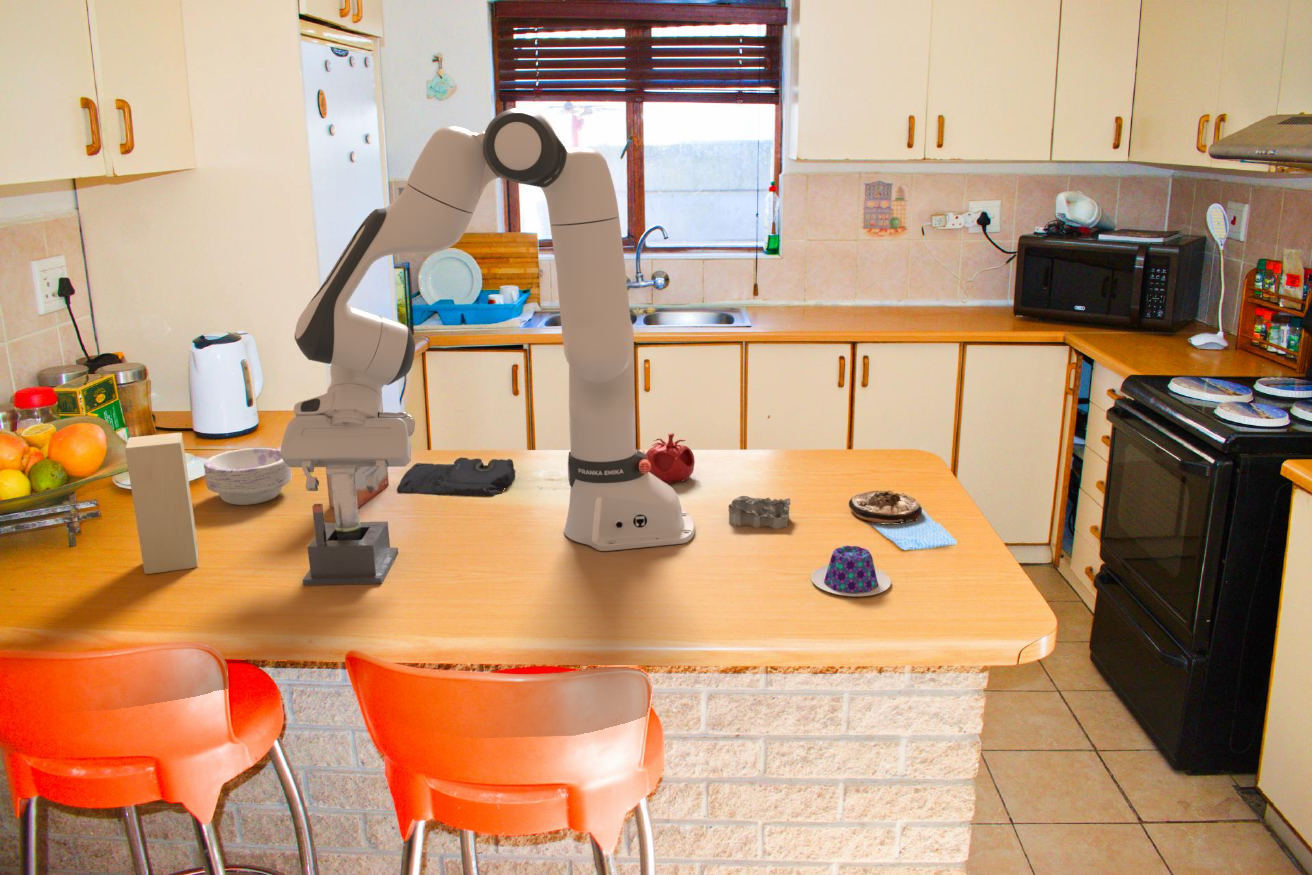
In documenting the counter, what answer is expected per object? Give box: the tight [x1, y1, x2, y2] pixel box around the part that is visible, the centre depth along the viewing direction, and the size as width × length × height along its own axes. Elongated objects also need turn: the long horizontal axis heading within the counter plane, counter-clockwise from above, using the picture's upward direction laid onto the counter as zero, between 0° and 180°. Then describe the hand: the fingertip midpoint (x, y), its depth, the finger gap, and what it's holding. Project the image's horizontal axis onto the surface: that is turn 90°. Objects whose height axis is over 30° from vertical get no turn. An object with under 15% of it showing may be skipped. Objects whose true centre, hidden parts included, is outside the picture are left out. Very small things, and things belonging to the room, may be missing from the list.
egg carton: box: [728, 495, 791, 530], centre depth 184 cm, size 11×8×4 cm
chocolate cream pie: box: [848, 490, 923, 524], centre depth 187 cm, size 15×15×4 cm
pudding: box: [810, 545, 892, 597], centre depth 159 cm, size 12×12×5 cm
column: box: [325, 465, 361, 541], centre depth 164 cm, size 4×4×16 cm
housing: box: [302, 503, 399, 586], centre depth 165 cm, size 12×12×12 cm
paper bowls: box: [203, 447, 293, 506], centre depth 199 cm, size 15×15×8 cm
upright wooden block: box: [125, 432, 200, 575], centre depth 167 cm, size 8×7×21 cm
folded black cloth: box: [396, 457, 516, 498], centre depth 206 cm, size 15×22×5 cm
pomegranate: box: [645, 432, 696, 484], centre depth 206 cm, size 10×10×9 cm
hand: (341, 489), depth 164 cm, fingers open, 8 cm apart
